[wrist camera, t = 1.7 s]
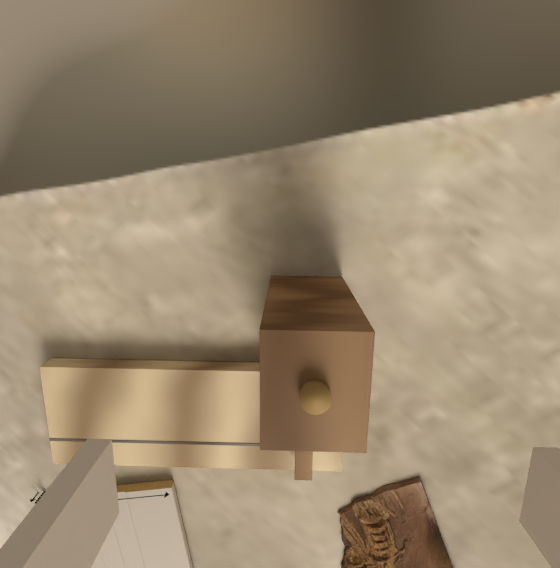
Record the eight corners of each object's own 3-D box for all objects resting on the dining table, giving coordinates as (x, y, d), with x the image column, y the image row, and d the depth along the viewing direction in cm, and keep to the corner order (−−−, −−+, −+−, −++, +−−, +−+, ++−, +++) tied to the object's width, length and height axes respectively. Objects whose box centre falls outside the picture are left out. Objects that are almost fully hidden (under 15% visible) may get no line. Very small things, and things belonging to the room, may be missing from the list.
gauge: (342, 277, 28) (377, 336, 17) (333, 450, 31) (358, 599, 20) (271, 275, 28) (258, 334, 17) (270, 449, 31) (259, 596, 20)
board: (344, 364, 29) (347, 373, 28) (339, 458, 31) (342, 471, 30) (51, 358, 30) (39, 367, 28) (64, 450, 32) (52, 464, 30)
